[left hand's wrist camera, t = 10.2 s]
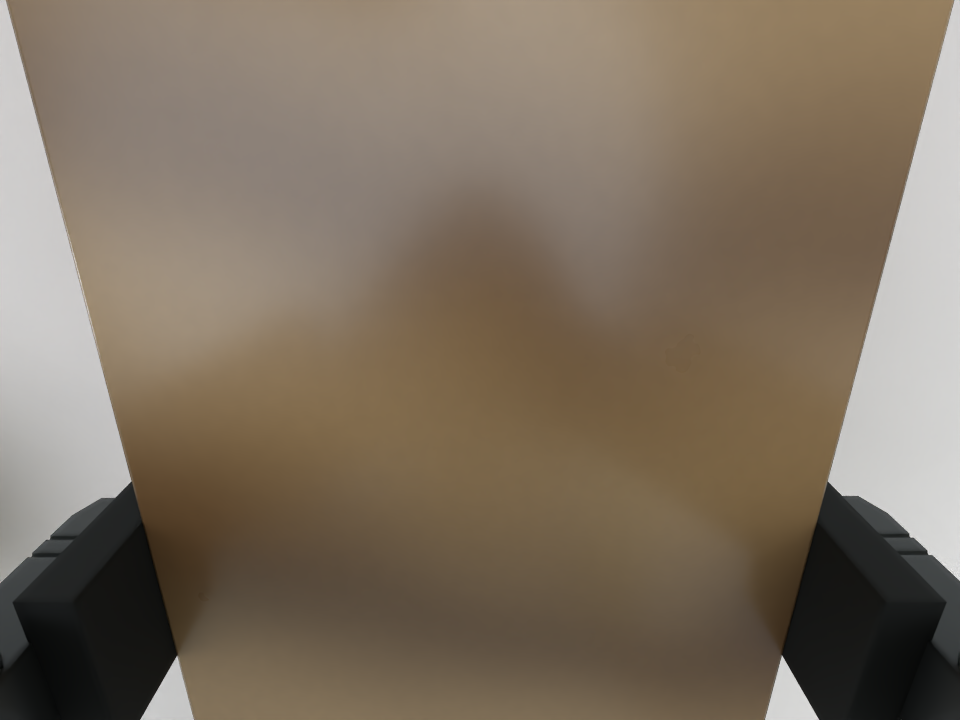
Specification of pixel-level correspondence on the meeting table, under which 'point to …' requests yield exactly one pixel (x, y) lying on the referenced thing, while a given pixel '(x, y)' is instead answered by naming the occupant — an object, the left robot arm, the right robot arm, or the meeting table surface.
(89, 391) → the meeting table surface
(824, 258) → the cabinet
